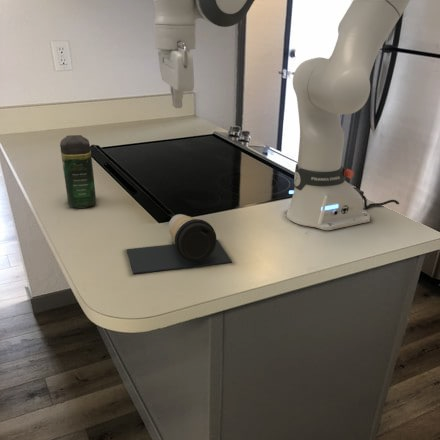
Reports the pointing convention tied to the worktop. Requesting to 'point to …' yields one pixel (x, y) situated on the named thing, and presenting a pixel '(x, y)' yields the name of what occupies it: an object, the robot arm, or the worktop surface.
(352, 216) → the robot arm
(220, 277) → the worktop surface
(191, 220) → the coffee cup
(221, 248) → the mat
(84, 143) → the coffee jar
